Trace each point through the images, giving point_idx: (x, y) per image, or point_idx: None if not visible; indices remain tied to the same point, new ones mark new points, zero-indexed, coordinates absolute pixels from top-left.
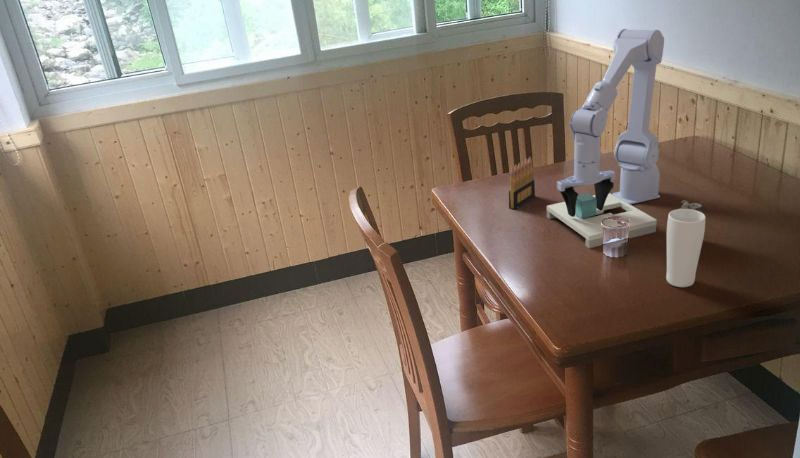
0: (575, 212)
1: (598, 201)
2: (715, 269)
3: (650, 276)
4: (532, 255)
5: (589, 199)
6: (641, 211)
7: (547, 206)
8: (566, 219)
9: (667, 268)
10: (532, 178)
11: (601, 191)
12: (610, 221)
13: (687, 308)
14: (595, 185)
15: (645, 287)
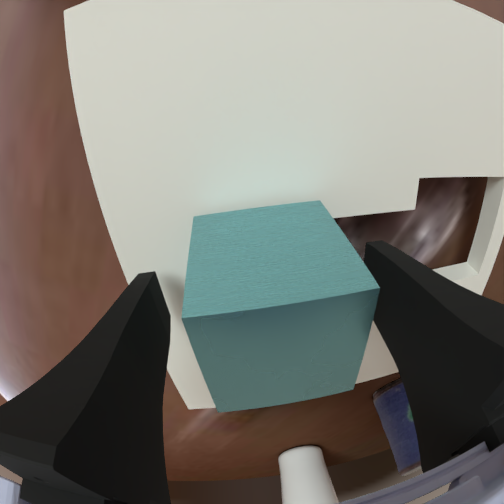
0: (169, 345)
1: (389, 301)
2: (374, 430)
3: (266, 445)
4: (21, 345)
5: (295, 395)
6: (481, 292)
7: (65, 21)
8: (127, 275)
9: (282, 476)
10: None
11: (424, 395)
12: None
13: (261, 473)
14: (473, 356)
15: (238, 457)
